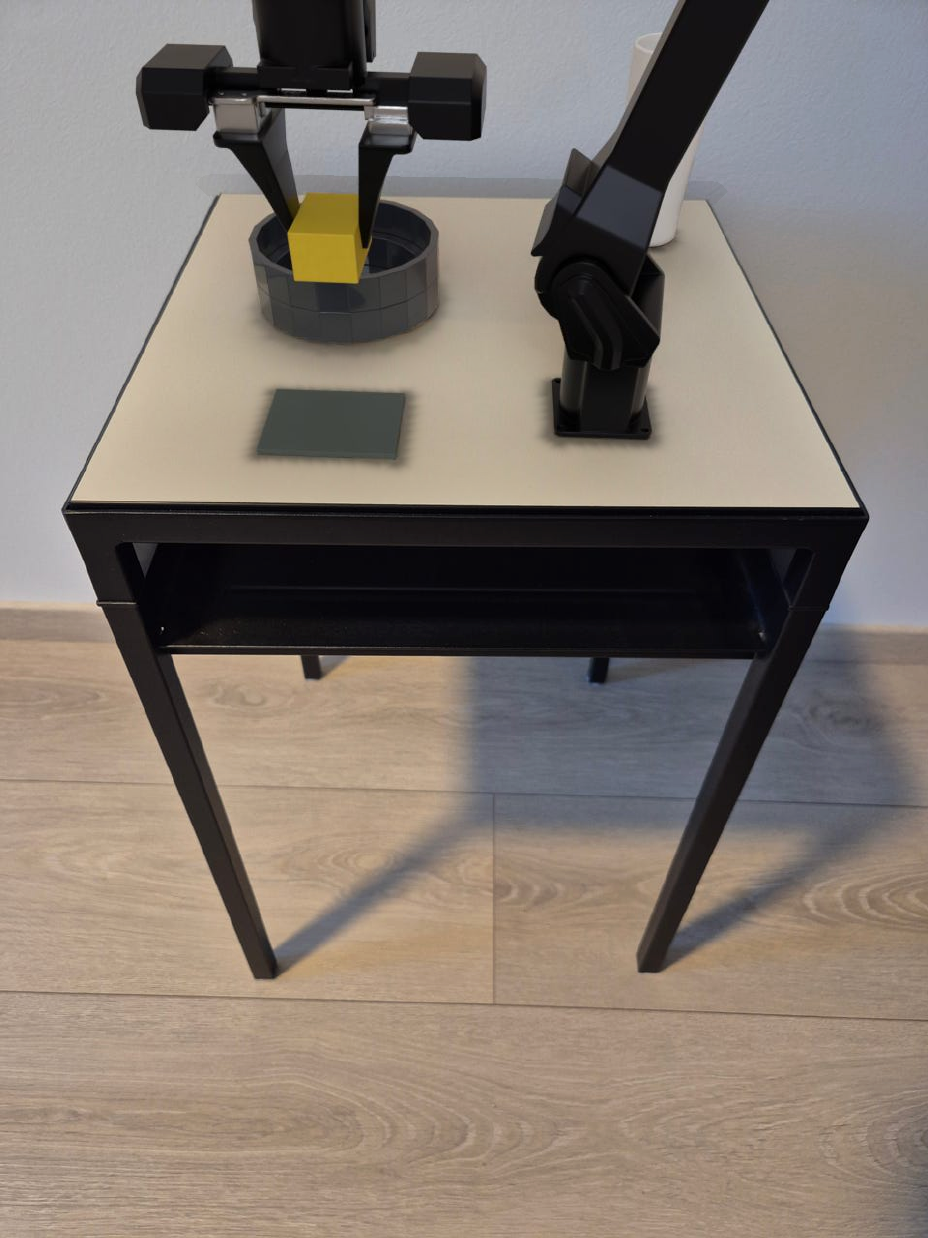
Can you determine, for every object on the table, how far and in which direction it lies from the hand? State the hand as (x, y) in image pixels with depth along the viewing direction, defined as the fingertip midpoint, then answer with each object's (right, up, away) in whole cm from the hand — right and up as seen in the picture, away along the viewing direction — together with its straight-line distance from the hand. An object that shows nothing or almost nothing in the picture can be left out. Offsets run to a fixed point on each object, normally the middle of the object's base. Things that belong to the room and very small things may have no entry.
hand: (332, 244), depth 54 cm
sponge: (0, -1, +1) cm, 1 cm away
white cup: (+25, +11, +24) cm, 36 cm away
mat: (0, -10, +4) cm, 11 cm away
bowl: (-1, +2, +15) cm, 15 cm away
